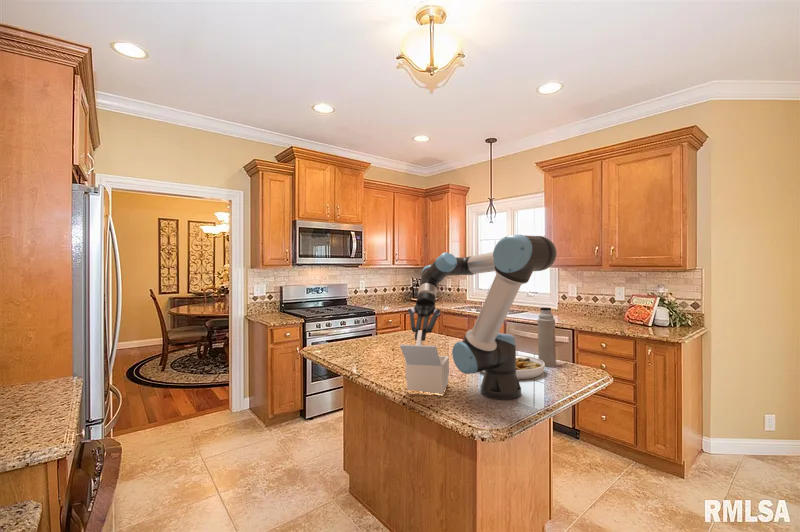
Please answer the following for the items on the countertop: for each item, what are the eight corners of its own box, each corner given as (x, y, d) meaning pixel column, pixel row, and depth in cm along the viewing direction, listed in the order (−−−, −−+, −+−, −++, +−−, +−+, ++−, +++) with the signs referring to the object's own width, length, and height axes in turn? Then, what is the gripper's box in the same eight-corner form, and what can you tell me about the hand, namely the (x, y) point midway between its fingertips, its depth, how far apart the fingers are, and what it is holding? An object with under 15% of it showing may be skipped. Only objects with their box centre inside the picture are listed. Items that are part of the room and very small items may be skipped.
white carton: (414, 382, 163) (413, 354, 163) (449, 384, 159) (449, 356, 159) (405, 393, 149) (405, 363, 149) (444, 396, 145) (443, 364, 145)
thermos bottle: (558, 364, 187) (556, 307, 187) (553, 367, 181) (552, 308, 181) (541, 362, 192) (540, 306, 192) (536, 365, 186) (535, 308, 186)
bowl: (535, 364, 190) (535, 348, 190) (553, 382, 160) (553, 363, 160) (474, 363, 193) (474, 348, 193) (480, 381, 163) (480, 363, 163)
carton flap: (400, 344, 139) (399, 345, 138) (435, 345, 135) (435, 346, 135) (407, 363, 148) (407, 364, 148) (441, 364, 145) (440, 365, 144)
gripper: (443, 303, 155) (437, 353, 139) (412, 303, 159) (403, 352, 143) (441, 291, 150) (434, 342, 134) (409, 291, 154) (398, 340, 138)
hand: (418, 347), depth 138 cm, fingers closed
